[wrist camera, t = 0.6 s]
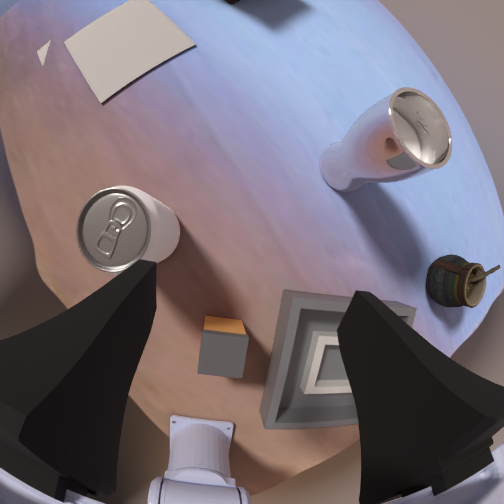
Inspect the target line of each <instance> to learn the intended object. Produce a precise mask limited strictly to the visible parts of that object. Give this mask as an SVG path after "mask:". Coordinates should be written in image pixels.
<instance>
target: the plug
mask: <svg viewBox="0 0 504 504" xmlns="http://www.w3.org/2000/svg"><path fill="white" fill-rule="evenodd" d="M248 342H249V337H248V335H247V334H246V332H245V329H244V326H243V323H242V320H236V319H228V318H221V317H213V316H206V315H205V323H204V329H203V330H202V338H201V346H200V355H199V364H198V373H199V374H206V375H214V376H223V377H233V378H242V377H243V371H244V365H245V359H246V353H247V347H248Z"/></svg>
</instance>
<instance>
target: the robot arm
mask: <svg viewBox="0 0 504 504" xmlns="http://www.w3.org/2000/svg"><path fill="white" fill-rule="evenodd" d="M156 308H157V306H156V262H154V261H148V260H142V259H139V260H138V261H136V262H135V263H133V264H132V265H131V266H129V267H128V268H127V269H125V270H124V271H123V272H121V273H120V274H119V275H117V276H116V277H115V278H113V279H112V280H111V281H109V282H108V283H107V284H105V285H104V286H103V287H101V288H100V289H98V290H97V291H95V292H94V293H92V294H91V295H89V296H88V297H86V298H85V299H84V300H82V301H81V302H79V303H78V304H76V305H74V306H73V307H71V308H69V309H68V310H66V311H64V312H63V313H61V314H59V315H57V316H55V317H54V318H52V319H50V320H48V321H46V322H44V323H41V324H39V325H37V326H35V327H33V328H31V329H29V330H27V331H25V332H22V333H19V334H17V335H14V336H12V337H9V338H6V339H4V340H1V341H0V504H104V503H102V502H99V501H96V500H93V499H90V498H87V497H86V495H87V493H90V494H92V495H95V496H97V495H98V493H100V494H103V495H110V494H112V493H114V492H116V475H117V461H118V452H119V443H120V436H121V430H122V424H123V418H124V412H125V407H126V402H127V398H128V393H129V390H130V386H131V383H132V380H133V377H134V374H135V372H136V369H137V366H138V363H139V361H140V358H141V355H142V353H143V350H144V347H145V345H146V342H147V340H148V337H149V334H150V331H151V328H152V324H153V320H154V316H155V312H156ZM337 336H338V343H339V348H340V354H341V357H342V361H343V364H344V367H345V371H346V374H347V377H348V380H349V384H350V387H351V391H352V394H353V397H354V401H355V405H356V410H357V416H358V423H359V431H360V443H361V486H360V496H359V503H360V504H382V503H385V502H388V501H391V500H394V499H397V498H400V497H402V498H400V499H397V500H395V501H392V502H389V503H386V504H504V443H503V444H501V445H500V446H498V447H497V448H495V449H494V450H493V451H490V448H489V447H490V446H491V445H492V444H493V439H492V436H493V435H494V434H495V433H497V432H498V431H499V430H500V429H501V428H502V427H504V387H503V386H501V385H498V384H495V383H493V382H491V381H489V380H487V379H484V378H482V377H480V376H478V375H476V374H475V373H473V372H471V371H469V370H468V369H466V368H464V367H463V366H461V365H459V364H458V363H456V362H455V361H453V360H452V359H450V358H449V357H448V356H446V355H445V354H443V353H442V352H441V351H439V350H438V349H437V348H435V347H434V346H433V345H431V344H430V343H429V342H428V341H427V340H425V339H424V338H423V337H422V336H421V335H419V334H418V333H417V332H416V331H415V330H414V329H412V328H411V327H410V326H409V325H408V324H407V323H406V322H405V321H404V320H402V319H401V318H400V317H399V316H398V315H397V314H396V313H395V312H393V311H392V310H391V309H390V308H389V307H388V306H387V305H386V304H384V303H383V302H382V301H381V300H380V299H378V298H377V297H376V296H374V295H373V294H372V293H370V292H365V291H357V290H356V291H355V294H354V296H353V298H352V300H351V302H350V304H349V306H348V308H347V310H346V312H345V314H344V316H343V318H342V320H341V322H340V324H339V326H338V328H337ZM173 421H176V422H173ZM229 427H230V428H229ZM233 427H234V425H233V423H232V422H227V421H216V420H206V419H198V418H190V417H183V416H177V415H172V416H171V419H170V459H169V465H168V471H165V476H164V480H163V478H162V477H157V478H156V479H154V480H153V481H152V482H151V485H150V489H149V495H148V504H251V498H250V495H249V493H248V491H246V490H245V488H244V487H242V486H237V487H236V481H235V479H233V478H231V472H230V463H229V449H230V444H231V438H232V433H233Z"/></svg>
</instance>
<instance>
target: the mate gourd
mask: <svg viewBox="0 0 504 504" xmlns="http://www.w3.org/2000/svg"><path fill="white" fill-rule="evenodd" d="M499 266H500V265H498V266H496V267H494V268H493V269H491V270H489V271H487V272H485V271H484V268H483V267H482V265H481V264H479V263H469V262H467V261H466V260H465V259H464V258H462V257H460V256H457V255H446V256H443V257H440V258H438V259H437V260H436V261H434V262H433V263H432V265H431V266H430V267H429V270H428V275H427V290H428V293H429V295H430V297H431V298H432V299H433V300H434V301H435V302H437V303H438V304H440V305H442V306H445V307H460V306H463V305H464V306H467V307H471V308H473V307H475V306H477V305H478V304H479V302H480V301H481V299H482V297H483V295H484V292H485V287H486V276H488V275H489V274H491V273H493V272H495V270H497V269H499V268H500V267H499Z"/></svg>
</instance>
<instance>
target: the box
mask: <svg viewBox="0 0 504 504" xmlns="http://www.w3.org/2000/svg"><path fill="white" fill-rule="evenodd" d="M352 298H353V297H343V296H334V295H325V294H316V293H307V292H299V291H291V290H283V294H282V300H281V306H280V311H279V317H278V322H277V327H276V333H275V338H274V343H273V348H272V353H271V358H270V363H269V368H268V373H267V378H266V383H265V388H264V392H263V397H262V402H261V406H260V414H261V418H262V421H263V425H264V428H265V429H306V428H323V427H335V426H345V425H353V424H359V423H358V416H357V410H356V405H355V401H354V397H353V394H352V391H351V387H350V384H349V380H348V377H347V374H346V371H345V367H344V364H343V361H342V357H341V354H340V348H339V343H338V336H337V328H338V326H339V324H340V322H341V320H342V318H343V316H344V314H345V312H346V310H347V308H348V306H349V304H350V302H351V300H352ZM381 301H382V302H383V303H384V304H386V305H387V306H388V307H389V308H390V309H391V310H392V311H393V312H395V313H396V314H397V315H398V316H399V317H400V318H401V319H402V320H404V321H405V322H406V323H407V324H408V325H409V326H410V327H411V328H412V325H413V321H414V317H415V312H416V308H414V307H411V306H409V305H406V304H403V303H400V302H396V301H384V300H381Z"/></svg>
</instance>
